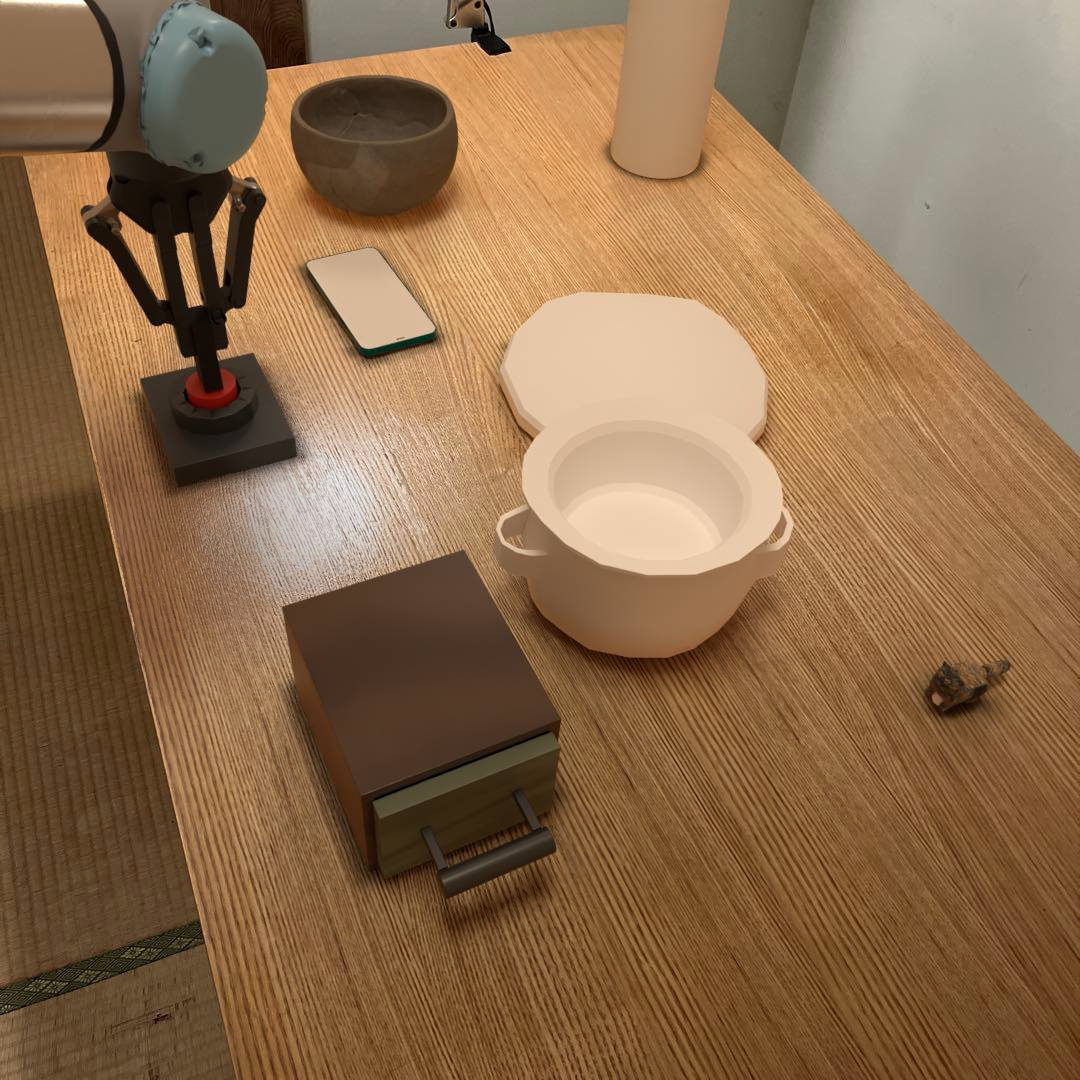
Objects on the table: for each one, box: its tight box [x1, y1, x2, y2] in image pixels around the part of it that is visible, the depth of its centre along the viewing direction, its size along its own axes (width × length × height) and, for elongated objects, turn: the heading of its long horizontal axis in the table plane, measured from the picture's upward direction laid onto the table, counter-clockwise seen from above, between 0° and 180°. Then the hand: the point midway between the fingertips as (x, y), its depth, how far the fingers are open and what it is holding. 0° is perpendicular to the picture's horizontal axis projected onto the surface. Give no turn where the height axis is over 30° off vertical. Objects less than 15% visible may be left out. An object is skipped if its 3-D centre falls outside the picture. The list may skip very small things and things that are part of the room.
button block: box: [139, 352, 298, 488], centre depth 91 cm, size 10×12×4 cm
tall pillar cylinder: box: [610, 0, 731, 180], centre depth 120 cm, size 11×11×25 cm
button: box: [186, 369, 238, 409], centre depth 90 cm, size 4×4×2 cm
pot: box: [492, 398, 795, 659], centre depth 79 cm, size 22×17×12 cm
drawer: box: [372, 732, 562, 900], centre depth 67 cm, size 18×11×8 cm, turn 26°
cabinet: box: [281, 549, 562, 872], centre depth 70 cm, size 15×13×10 cm
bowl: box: [289, 74, 459, 218], centre depth 116 cm, size 17×18×10 cm
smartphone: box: [305, 246, 438, 357], centre depth 105 cm, size 8×1×16 cm
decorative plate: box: [498, 291, 769, 444], centre depth 98 cm, size 25×4×25 cm
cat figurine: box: [924, 659, 1011, 712], centre depth 78 cm, size 3×8×4 cm, turn 116°
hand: (210, 380), depth 89 cm, fingers closed
